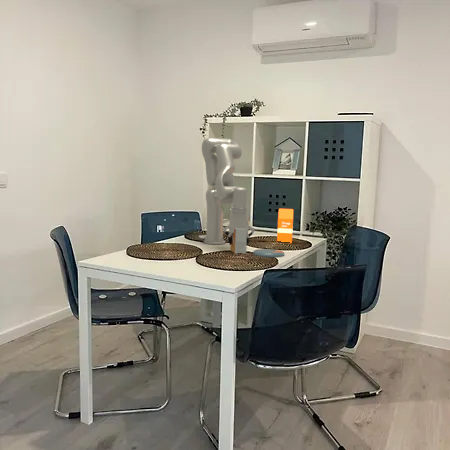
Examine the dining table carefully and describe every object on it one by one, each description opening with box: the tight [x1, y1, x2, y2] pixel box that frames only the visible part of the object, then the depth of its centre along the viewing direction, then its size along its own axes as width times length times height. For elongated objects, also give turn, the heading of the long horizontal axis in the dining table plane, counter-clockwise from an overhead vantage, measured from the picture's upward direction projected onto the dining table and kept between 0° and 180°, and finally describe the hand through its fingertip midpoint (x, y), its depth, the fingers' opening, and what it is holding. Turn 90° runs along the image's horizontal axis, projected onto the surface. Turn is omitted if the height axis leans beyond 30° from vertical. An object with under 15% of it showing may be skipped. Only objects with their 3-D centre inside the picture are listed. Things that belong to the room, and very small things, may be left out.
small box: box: [229, 228, 247, 255], centre depth 248 cm, size 8×6×13 cm
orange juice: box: [276, 208, 294, 244], centre depth 284 cm, size 8×9×20 cm
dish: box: [252, 248, 285, 258], centre depth 245 cm, size 16×16×1 cm
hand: (238, 244), depth 248 cm, fingers closed on small box, 8 cm apart
